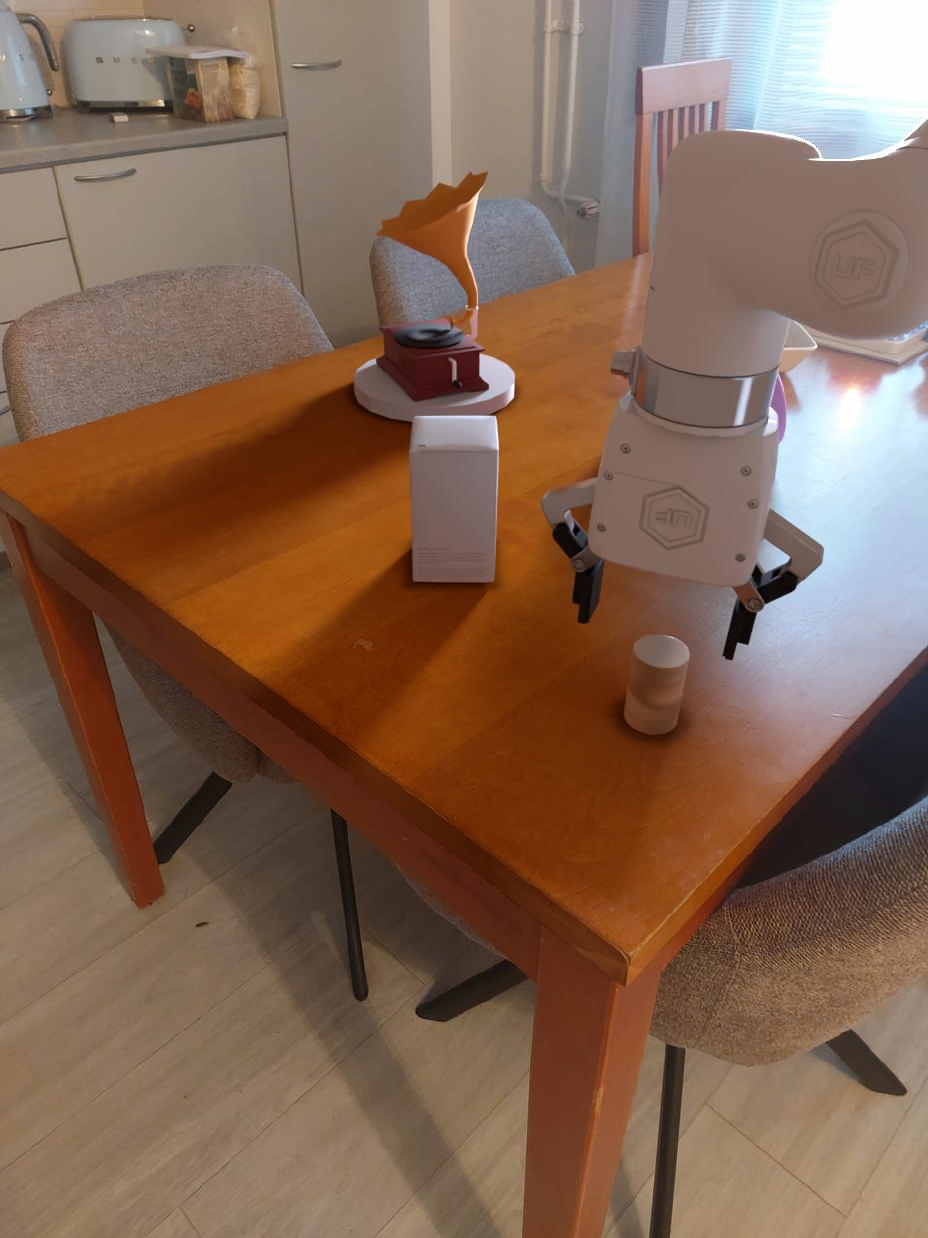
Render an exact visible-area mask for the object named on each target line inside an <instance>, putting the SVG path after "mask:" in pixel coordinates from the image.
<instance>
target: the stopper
mask: <svg viewBox="0 0 928 1238" xmlns="http://www.w3.org/2000/svg"><path fill="white" fill-rule="evenodd" d="M690 657H691V652H690V650H689V648H688V646H687V645H686V644H685V643H684V642H682V641H681V640H679V639H678V638H676V637H673V636H670V635H665V634H655V633H654V634H648V635H644V636H642V637H640V638H638V639H637V640H636V641H635V642H634V644H633V646H632V652H631V660H630V667H629V674H628V680H627V687H626V695H625V700H624V701H625V702H624V708H623V718H624V720H625V723H627V724H628V726H629V727H630V728H632V729H633V730H635V731H637V732H639V733H642V734H646V735H653V736H658V735H664V734H667V733H669V732H671V731H673V730H674V728H676V726H677V724H678V720H679V716H680V710H681V704H682V699H683V693H684V689H685V684H686V678H687V673H688V668H689V663H690Z"/></svg>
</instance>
